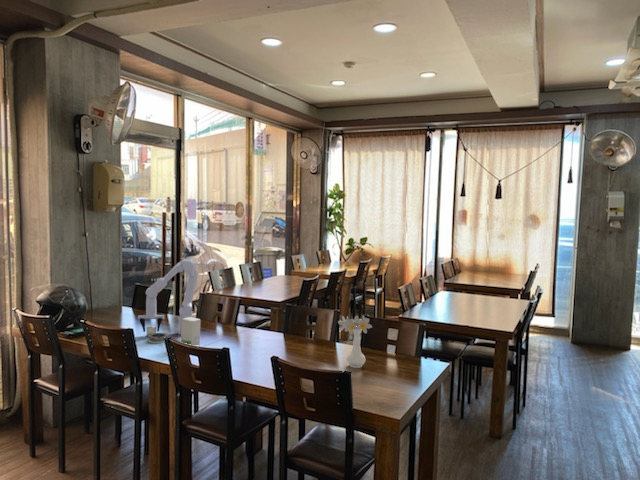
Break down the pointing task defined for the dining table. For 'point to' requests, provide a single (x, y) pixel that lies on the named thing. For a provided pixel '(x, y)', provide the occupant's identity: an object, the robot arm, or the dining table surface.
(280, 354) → the dining table surface
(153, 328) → the cap
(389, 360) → the dining table surface
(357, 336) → the flower vase
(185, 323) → the skincare box
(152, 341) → the round grey ashtray
